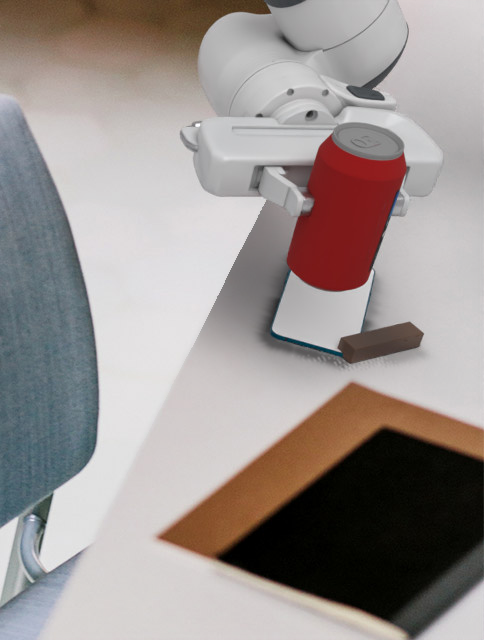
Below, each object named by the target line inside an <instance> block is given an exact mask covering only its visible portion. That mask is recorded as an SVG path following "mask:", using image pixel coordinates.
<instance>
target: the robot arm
mask: <svg viewBox="0 0 484 640" xmlns="http://www.w3.org/2000/svg"><path fill="white" fill-rule="evenodd" d="M262 1H263V2H264V3H265V4H266V6H267V8H268V9H269V11H270V13H265V14H263V13H262V14H257V13H251V12H245V11H237V12H231V13H228V14H226V15H223V16H222V17H220V18H218V19H217V20H215V22H214V23H213V24H212V25H211V26H210V27H209V28H208V29H207V31H206V32H205V34H204V36H203V38H202V40H201V43H200V45H199V50H198V55H197V62H196V63H197V64H196V65H197V66H196V67H197V73H198V79H199V83H200V87H201V89H202V91H203V94H204V96H205V98H206V99H207V101H208V103H209V106H210V107H211V109H212V110H213V112H214V113H215V115H216V116H211V117H207V118H204V119H203V120H196V121H193V122H192V123H191V125H186V126H182V127H181V129H180V130H179V139H180V141H181V142H182V144H183V145H184V147H185V148H186V150H188V151H190V152H192V153H193V155H192V162H193V168H194V171H195V175H196V177H197V179H198V181H199V184H200V186H201V188H202V189H203V190H204V192H206V193H208V194H210V195H212V196H215V197H219V198H226V197H227V198H231V197H232V198H238V197H239V198H243V197H244V198H263V199H265V200H267V201H269V202H270V203H272V204H275V205H277V206H279V207H281V208H284V209H285V210H286V212H287V213H288V215H289V216H290V217H291V218H298V217H309V216H311V214H312V208H313V207H314V204H315V199H314V196H313V195H312V194H311V193H310V191H309V189H308V187H307V184H308V181H309V177H310V174H311V171H312V167H313V164H314V161H315V158H316V154H317V151H318V148H319V146H320V145H321V144H322V143H323V142H324V141H325V140H326V139H327V138H328V137H329V136H330V135H331V134H332V133H333V130H334V128H335V127H336V126H338V125H340V124H343V123H348V122H361V123H368V124H372V125H376V126H379V127H382V128H385V129H387V130H389V131H391V132H393V133H395V134H396V135H397V136H399V137H400V138H401V139H402V141H403V142H404V146H405V147H404V155H405V160H406V165H407V171H406V174H405V177H404V180H403V183H402V186H401V189H400V191H399V194H398V197H397V200H396V203H395V206H394V209H393V212H392V215H391V217H396V218H397V217H402V218H404V217H405V216H406V215H407V212H408V210H409V206H410V203H411V198H426V197H429V195H430V194H432V192H433V190H434V188H435V186H436V185H437V183H438V180H439V177H440V175H441V172H442V168H443V165H444V153H443V151H442V149H441V148H440V147H439V146H438V144H437V143H436V142H435V141H434V139H432V137H431V136H430V135H429V134H428V133H427V132H426V131H425V130H424V129H423V128H422V127H421V126H420V125H419V124H418V123H417V122H416V121H415V120H414V119H412V118H410V116H407V115H405V114H403V113H401V112H399V111H396V109H397V103H398V102H397V100H396V98H395V97H394V96H393V95H392V94H390V93H388V92H385V91H381V90H376V89H375V88H376V87H377V86H378V85H381V83H382V82H383V81H384V80H385V79H386V77H388V76H389V74H391V72H392V70H393V69H394V68H395V66H396V65H397V64H398V62H399V60H400V59H401V57H402V55H403V53H404V50H405V49H406V47H407V42H408V39H409V34H410V33H409V32H410V31H409V30H410V29H409V25H408V22H407V20H406V18H405V16H404V13H403V10H402V8H401V5H400V2H399V0H262Z"/></svg>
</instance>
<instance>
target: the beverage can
mask: <svg viewBox="0 0 484 640" xmlns="http://www.w3.org/2000/svg"><path fill="white" fill-rule="evenodd" d="M404 147H405V146H404V142H403V141H402V139H401V138H400V137H399V136H397V135H396V134H395V133H393V132H391V131H389V130H387V129H385V128H382V127H379V126H376V125H372V124H368V123H361V122H348V123H343V124H340V125H338V126H336V127H335V128H334V130H333V133H332V134H331V135H330V136H329V137H328V138H327V139H326V140H325V141H324V142H323V143H322V144H321V145H320V146H319V148H318V151H317V154H316V158H315V161H314V164H313V167H312V171H311V174H310V177H309V181H308V184H307V187H308V189H309V191H310V193H311V194H312V195H313V196H314V199H315V204H314V207H313V208H312V214H311V216H309V217H296V218H297V219H296V221H295V226H294V229H293V233H292V236H291V240H290V243H289V247H288V251H287V254H286V264H287V266H288V268H289V269H291V271H292V272H293V273H294V274H295V275H296V276H298V277H299V279H300V280H302V281H303V282H304V283H306V284H307V285H309V286H311V287H313V288H316V289H319V290H323V291H328V292H342V291H347V290H353V289H356V288H359V287H361V286H363V285H364V284H365V283H366V282H367V281H368V279H369V276H370V273H371V271H372V268H373V269H374V265H375V262H376V260H377V257H378V255H379V254H378V253H379V251H380V249H381V246H382V243H383V240H384V238H385V236H386V235H385V234H386V232H387V228H388V227H389V223H390V220H391V218H392V216H391V215H392V212H393V209H394V206H395V203H396V200H397V197H398V194H399V191H400V189H401V186H402V183H403V180H404V177H405V174H406V171H407V165H406V160H405V155H404Z"/></svg>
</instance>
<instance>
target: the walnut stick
mask: <svg viewBox="0 0 484 640" xmlns="http://www.w3.org/2000/svg"><path fill="white" fill-rule="evenodd" d="M424 335H425V333H424V332H423V331H422V330H421V329H420V328H419V327H417V326H416V325H415V324H414V323H413V322H412V321H406V322H401V323H397V324H392V325H388V326H384V327H379V328H375V329H372V330H367V331H362V333H358V334H354V335H349V336H345V337H341V339H340V342H339V344H338V347H337V348H338V349H339V350H340V351H341V352H342V353H343V359H344V360H345V361H346V362H347V363H349V364H354V363H359V362H363V361H366V360H371V359H375V358H379V357H383V356H386V355H392V354H394V353H395V354H396V353H399V352H403V351H407V350H411V349H415V348H419V347H420V346H421V343H422V340H423V338H424Z"/></svg>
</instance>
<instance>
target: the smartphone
mask: <svg viewBox="0 0 484 640" xmlns="http://www.w3.org/2000/svg"><path fill="white" fill-rule="evenodd" d="M375 278H376V270H375V268H374V267H373V268H372V271H371V273H370V276H369V279H368V281H367V282H366V283H365V284H364V285H363V286H361V287H359V288H356V289H353V290H347V291H342V292H328V291H323V290H319V289H316V288H313V287H311V286H309V285H307V284H306V283H304V282H303V281H302V280H300V279H299V277H298V276H296V275H295V274H294V273H293V272H292V271H291V269H290V268H289V269H288V272H287V274H286V278H285V280H284V287H283V288H282V292H281V295H280V299H279V301H278V304H277V307H276V309H275V313H274V316H273V319H272V321H271V325H270V328H269V335H270V336H271V337H272V338H274V339H276V340H278V341H282V342H286V343H289V344H290V343H291V344H294V345H297V346H298V345H299V346H301V347H304V348H307V349H311V348H312V349H314V350H315V349H316V350H318V351H319V352H322V353H326V354H329V355H330V354H331V355H334V356H335V357H339V358H341V359H342V358H343V353H342V352H341V351H340V350H339V349H338V348H337V347H338V344H339V342H340V339H341V337H345V336H349V335H354V334H358V333H362V332H363V329H364V324H365V320H366V316H367V313H368V307H369V304H370V300H371V296H372V291H373V290H372V288H373V286H374V281H375ZM343 359H344V358H343Z"/></svg>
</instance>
